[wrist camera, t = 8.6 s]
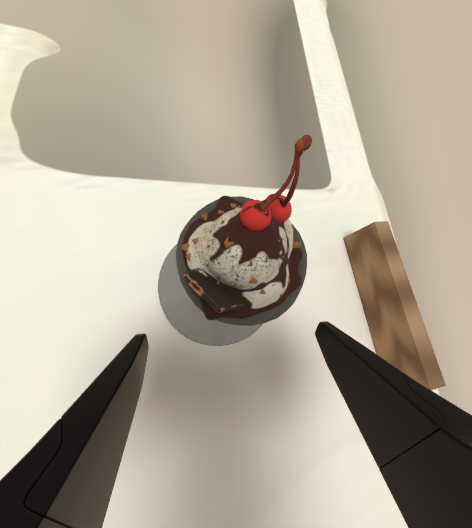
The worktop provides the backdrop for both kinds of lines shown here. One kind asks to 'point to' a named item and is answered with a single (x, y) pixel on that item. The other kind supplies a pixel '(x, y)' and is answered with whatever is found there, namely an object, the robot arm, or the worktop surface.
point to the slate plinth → (193, 311)
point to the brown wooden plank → (391, 305)
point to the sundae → (244, 256)
